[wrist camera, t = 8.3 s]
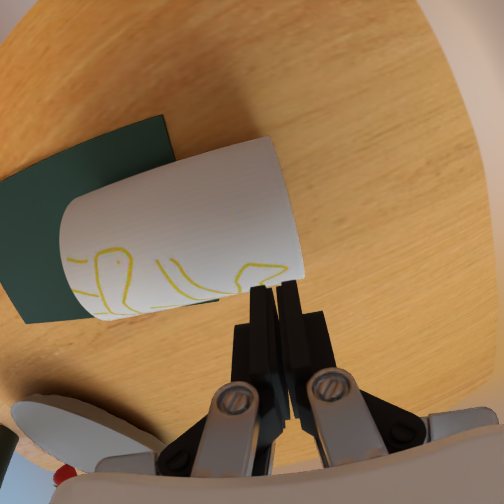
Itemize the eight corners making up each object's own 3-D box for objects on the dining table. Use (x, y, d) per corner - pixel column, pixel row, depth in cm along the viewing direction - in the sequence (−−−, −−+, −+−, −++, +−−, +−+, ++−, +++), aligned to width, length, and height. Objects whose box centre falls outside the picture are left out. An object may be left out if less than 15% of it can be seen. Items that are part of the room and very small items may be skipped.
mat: (-35, 202, 21) (-37, 203, 21) (163, 114, 19) (161, 114, 19) (26, 322, 29) (25, 324, 28) (219, 299, 26) (219, 301, 26)
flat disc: (124, 472, 50) (120, 490, 46) (6, 401, 40) (-2, 419, 36) (218, 451, 41) (216, 476, 37) (52, 350, 31) (38, 378, 27)
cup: (305, 294, 20) (133, 330, 21) (277, 187, 23) (128, 228, 24) (302, 242, 12) (55, 302, 13) (260, 106, 16) (68, 172, 17)
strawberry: (89, 468, 52) (80, 504, 44) (73, 468, 54) (63, 500, 45) (69, 457, 50) (59, 493, 41) (54, 456, 52) (43, 489, 43)
